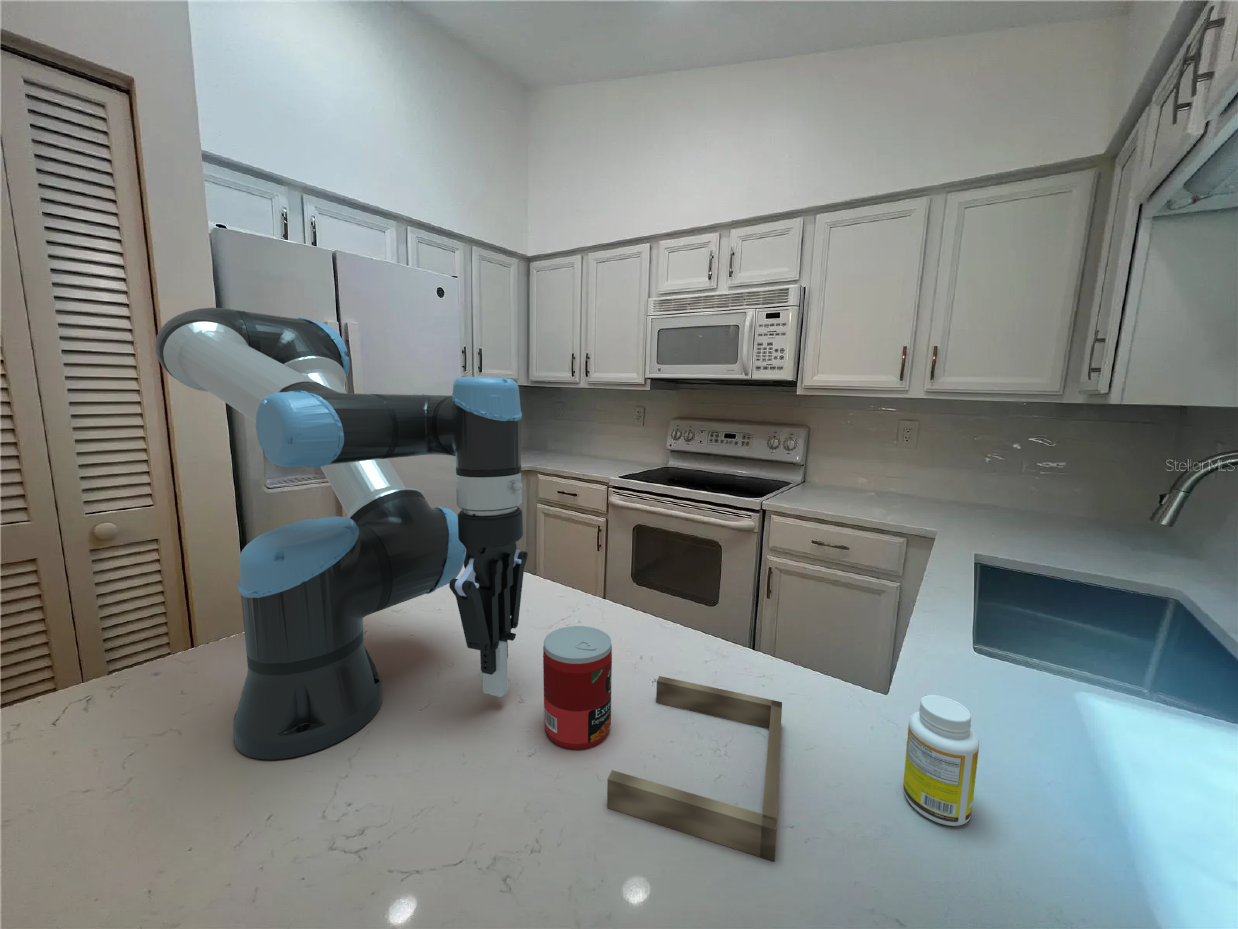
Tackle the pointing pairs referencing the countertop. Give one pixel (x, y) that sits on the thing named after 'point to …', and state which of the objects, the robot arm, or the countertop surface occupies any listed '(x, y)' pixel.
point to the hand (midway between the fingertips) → (495, 691)
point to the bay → (698, 811)
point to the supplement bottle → (941, 761)
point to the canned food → (577, 686)
